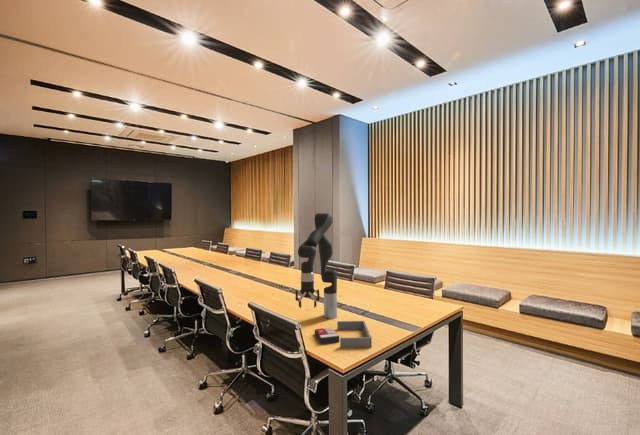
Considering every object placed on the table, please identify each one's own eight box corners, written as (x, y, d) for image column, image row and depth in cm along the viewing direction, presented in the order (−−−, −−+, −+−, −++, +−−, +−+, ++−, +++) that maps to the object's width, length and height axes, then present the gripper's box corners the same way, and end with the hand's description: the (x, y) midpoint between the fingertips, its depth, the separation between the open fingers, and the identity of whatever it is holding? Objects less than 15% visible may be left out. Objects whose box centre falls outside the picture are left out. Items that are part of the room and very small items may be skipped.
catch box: (337, 329, 189) (337, 321, 189) (364, 328, 189) (364, 320, 189) (340, 347, 163) (340, 338, 163) (371, 347, 163) (371, 338, 163)
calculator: (331, 326, 185) (339, 335, 170) (331, 333, 184) (339, 342, 170) (314, 328, 182) (320, 337, 167) (314, 335, 182) (320, 344, 167)
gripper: (319, 278, 179) (319, 305, 179) (295, 278, 179) (295, 305, 179) (319, 281, 172) (319, 309, 172) (294, 281, 171) (295, 309, 172)
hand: (307, 307), depth 175 cm, fingers open, 8 cm apart
